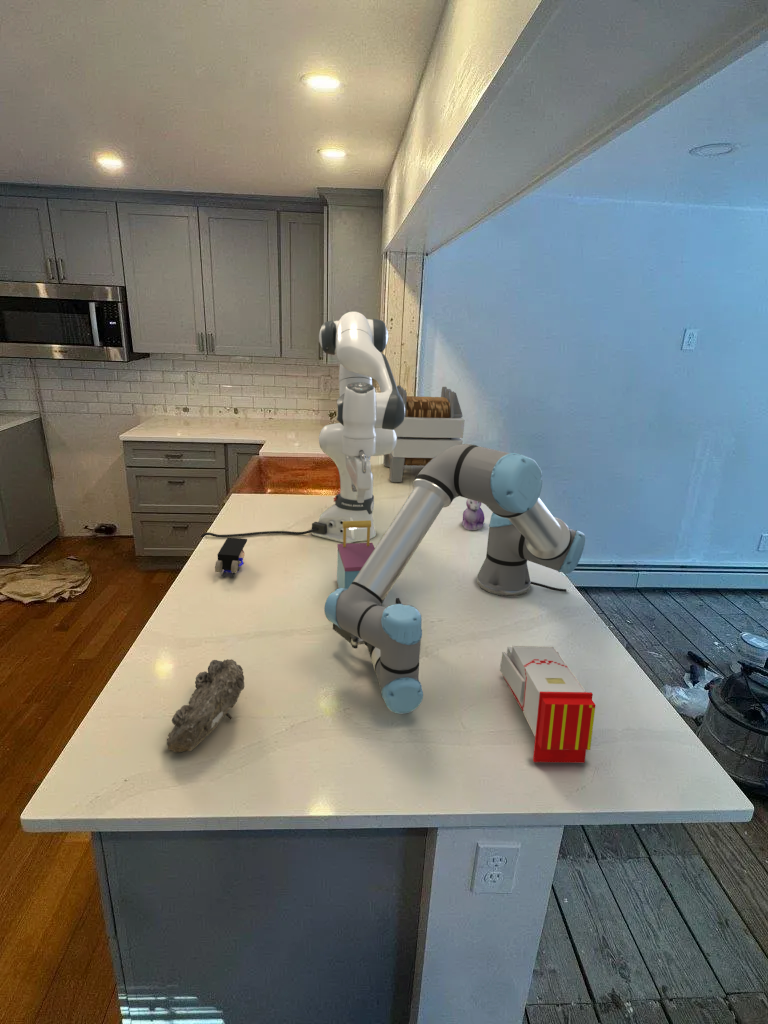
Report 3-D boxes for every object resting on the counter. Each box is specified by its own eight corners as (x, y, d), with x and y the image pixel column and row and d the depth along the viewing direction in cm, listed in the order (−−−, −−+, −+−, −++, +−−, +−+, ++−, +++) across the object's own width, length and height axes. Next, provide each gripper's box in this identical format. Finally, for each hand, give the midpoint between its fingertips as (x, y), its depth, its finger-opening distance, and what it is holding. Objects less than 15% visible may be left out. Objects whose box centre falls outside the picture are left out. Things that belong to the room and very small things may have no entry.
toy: (549, 628, 125) (605, 700, 96) (544, 683, 128) (596, 770, 99) (495, 627, 125) (534, 699, 95) (491, 683, 128) (527, 769, 98)
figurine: (470, 532, 203) (474, 493, 198) (454, 523, 212) (457, 484, 207) (491, 529, 208) (495, 490, 202) (474, 520, 216) (478, 482, 211)
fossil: (192, 660, 117) (244, 628, 112) (224, 691, 120) (276, 661, 115) (142, 746, 98) (202, 712, 93) (182, 779, 101) (242, 748, 96)
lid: (337, 547, 160) (337, 518, 157) (372, 545, 162) (373, 517, 159) (344, 571, 146) (345, 540, 143) (383, 569, 148) (384, 538, 145)
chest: (336, 581, 163) (337, 548, 160) (371, 579, 165) (372, 546, 162) (344, 607, 149) (344, 571, 146) (381, 605, 151) (383, 569, 148)
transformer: (382, 463, 289) (386, 382, 275) (445, 464, 293) (451, 384, 279) (390, 482, 257) (394, 392, 243) (460, 483, 261) (468, 394, 247)
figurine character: (238, 584, 162) (249, 557, 175) (236, 562, 158) (247, 536, 172) (215, 584, 161) (227, 556, 175) (212, 561, 158) (225, 535, 171)
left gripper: (378, 456, 140) (375, 508, 145) (364, 437, 159) (362, 485, 163) (352, 456, 139) (351, 509, 143) (341, 438, 157) (341, 485, 162)
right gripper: (329, 674, 118) (319, 621, 138) (443, 664, 123) (418, 614, 143) (329, 643, 116) (319, 594, 135) (446, 634, 121) (420, 588, 140)
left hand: (357, 496), depth 154 cm, fingers open, 8 cm apart
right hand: (370, 604), depth 139 cm, fingers open, 13 cm apart
